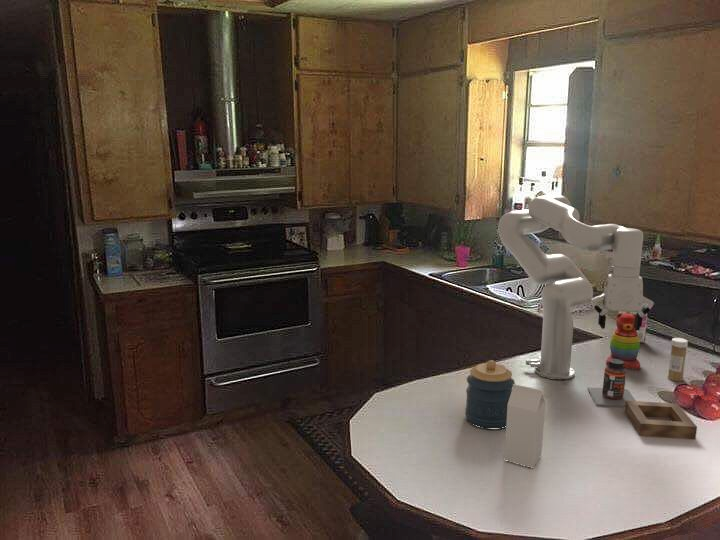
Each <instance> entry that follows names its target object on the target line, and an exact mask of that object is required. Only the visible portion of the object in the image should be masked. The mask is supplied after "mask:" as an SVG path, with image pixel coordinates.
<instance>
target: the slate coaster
mask: <svg viewBox="0 0 720 540" xmlns="http://www.w3.org/2000/svg"><path fill="white" fill-rule="evenodd" d="M602 390H603V387H590V386H589V387H587V391H588V393H589V392H590V393H589V394H591V395H590V396H592V397H591V399H592V400H593V402H594V404H595V406H597V407H608V408H609V407H610V408H611V407H613V408H625V402H626V401H637V400H636V399H635V397H634V396H633V395H632V393H631V392H630V390H629V389H626V388H624V395H623V398H622V399H619V400H614V399H609V398H607V397H605V396H604V395H603V394H602Z"/></svg>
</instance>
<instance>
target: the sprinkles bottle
mask: <svg viewBox="0 0 720 540" xmlns="http://www.w3.org/2000/svg"><path fill="white" fill-rule="evenodd" d="M688 343H689V341H688V340H687V339H686V338H682V337H673V338H672V339H671V349H670V357H669V365H668V375H667V379H669V380H671V381H674V382H682V381H683V380H684V372H685V367H686V366H685V365H686V355H687V347H688V345H689V344H688Z"/></svg>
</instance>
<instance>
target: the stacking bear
mask: <svg viewBox="0 0 720 540" xmlns="http://www.w3.org/2000/svg"><path fill="white" fill-rule="evenodd" d="M635 315H636V314H633V315H631V314H621V313H619V312H618V313H617V315H616V322H615V323H616V329H615V330H614V331H613V333H612V335H611V338H610V341H609V349H610V354H611V355H609V356H608V357H607V358H606V360H605V361H606V362H605V363H606V366H608V365H609V360H610V359H619V360H621V361H623V362H624V364H623V367H624V368H625V369H629V370H635V371H637V370H640V369H641V363H640V360H639V359H638V356H639V352H640V345H641V343H640V342H639V336H638V333H637V331H636V330H635V328H634V320H635ZM617 327H618V329H617Z"/></svg>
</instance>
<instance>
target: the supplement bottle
mask: <svg viewBox="0 0 720 540" xmlns="http://www.w3.org/2000/svg"><path fill="white" fill-rule="evenodd" d="M623 364H624V362H623V361H621V360H619V359H610V360H609V365H606V366H605V367H604V373H603V374H604V376H603V384H602V388H603V390H602V394H603V395H604V396H605V397H607V398H609V399H614V400H619V399H622V398H623V395H624V389H625V385H626V378H627V377H626V376H627V369H626V368H625V367H623Z"/></svg>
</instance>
